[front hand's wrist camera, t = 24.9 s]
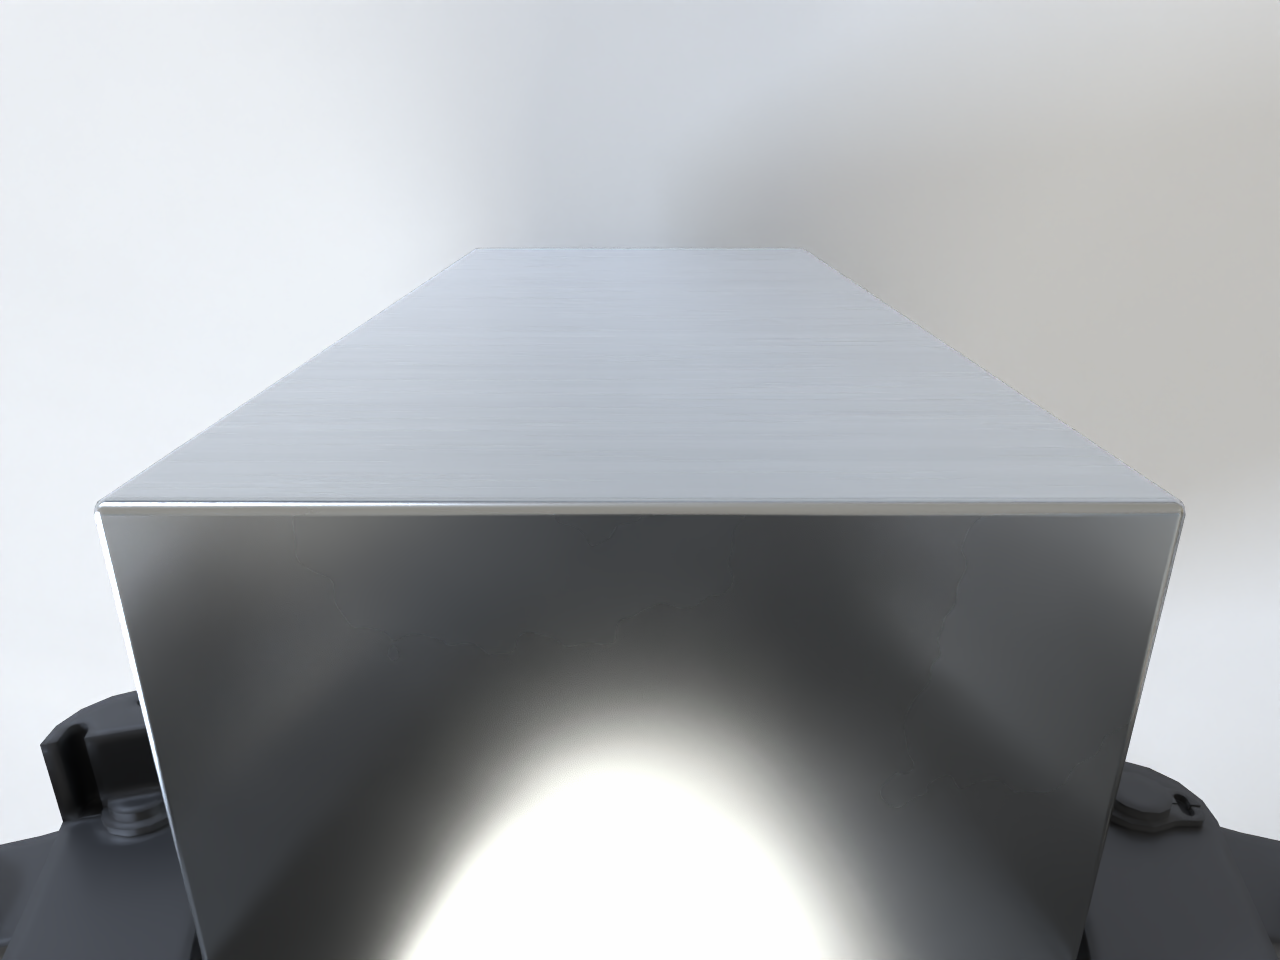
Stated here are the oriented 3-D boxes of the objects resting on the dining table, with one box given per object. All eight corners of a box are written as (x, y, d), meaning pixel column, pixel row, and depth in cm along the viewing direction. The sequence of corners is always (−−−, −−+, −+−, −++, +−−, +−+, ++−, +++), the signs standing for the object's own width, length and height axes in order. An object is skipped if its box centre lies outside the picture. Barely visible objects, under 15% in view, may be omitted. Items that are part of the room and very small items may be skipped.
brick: (774, 709, 18) (954, 1471, 8) (504, 709, 18) (323, 1471, 8) (805, 247, 15) (1195, 502, 4) (474, 247, 15) (83, 502, 4)
